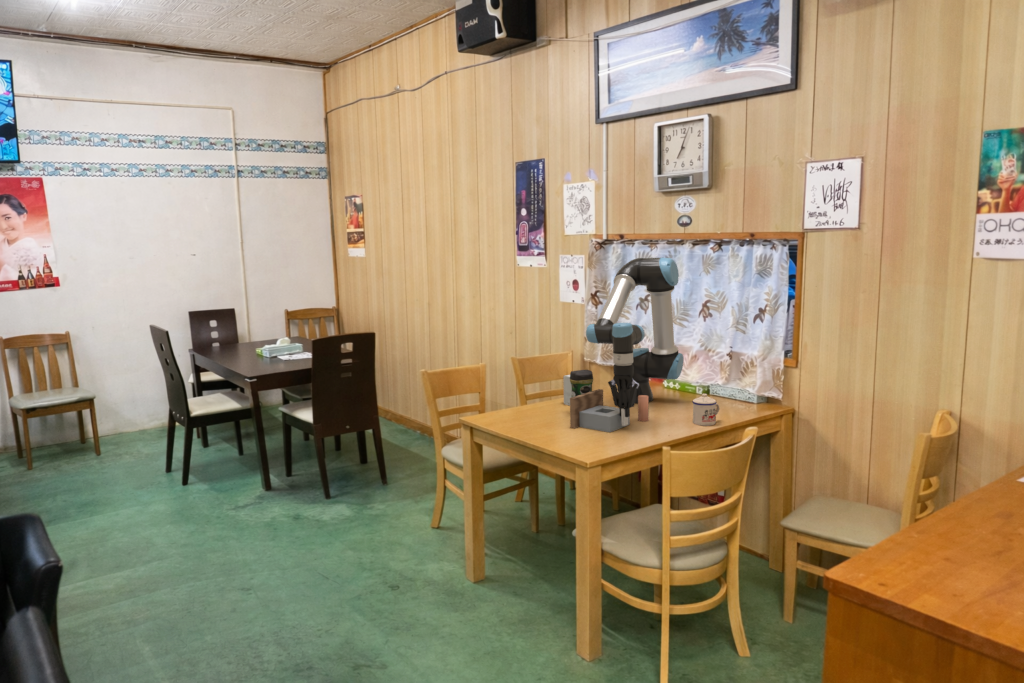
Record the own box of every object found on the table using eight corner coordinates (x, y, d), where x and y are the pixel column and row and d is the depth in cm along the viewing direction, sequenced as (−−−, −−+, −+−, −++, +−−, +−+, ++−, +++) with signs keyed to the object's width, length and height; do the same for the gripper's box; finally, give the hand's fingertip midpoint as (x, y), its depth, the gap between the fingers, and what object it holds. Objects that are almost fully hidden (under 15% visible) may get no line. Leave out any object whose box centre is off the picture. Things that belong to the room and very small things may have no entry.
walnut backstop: (599, 417, 294) (599, 389, 292) (603, 418, 292) (603, 389, 291) (570, 428, 279) (569, 398, 277) (574, 429, 277) (574, 398, 276)
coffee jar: (588, 410, 307) (587, 367, 304) (596, 414, 300) (596, 370, 297) (567, 412, 304) (566, 369, 301) (575, 417, 296) (574, 372, 294)
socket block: (599, 419, 290) (599, 405, 289) (629, 424, 281) (629, 409, 280) (579, 426, 280) (579, 411, 279) (610, 432, 270) (609, 416, 270)
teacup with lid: (703, 427, 274) (703, 397, 273) (687, 422, 282) (687, 393, 281) (727, 423, 280) (727, 393, 278) (710, 418, 288) (710, 389, 286)
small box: (572, 406, 315) (571, 377, 313) (563, 404, 320) (562, 375, 319) (586, 403, 319) (586, 375, 318) (577, 401, 325) (577, 373, 323)
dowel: (641, 418, 290) (641, 394, 289) (650, 420, 287) (650, 395, 286) (636, 421, 287) (636, 396, 286) (645, 422, 284) (645, 397, 283)
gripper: (603, 364, 273) (605, 425, 276) (632, 366, 264) (634, 429, 267) (614, 361, 278) (615, 420, 281) (643, 363, 270) (644, 424, 273)
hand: (624, 424), depth 274 cm, fingers closed
